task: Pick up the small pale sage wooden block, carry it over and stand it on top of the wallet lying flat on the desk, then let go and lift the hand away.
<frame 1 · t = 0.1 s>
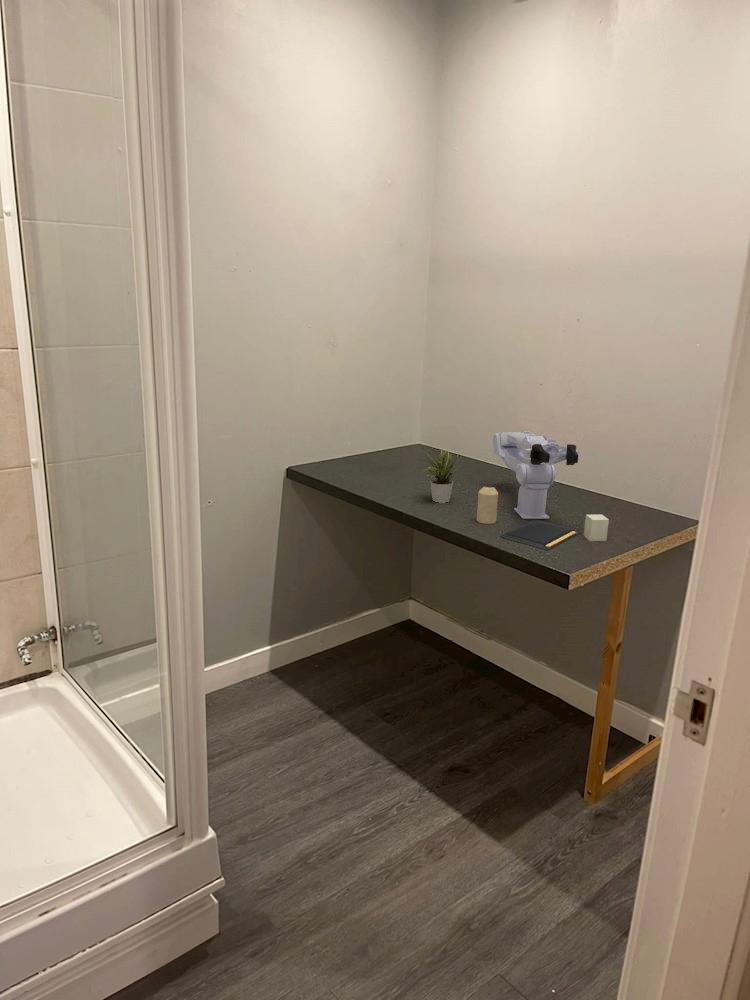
hand: (562, 458, 185), 22 cm above the table, tool horizontal, fingers open, 7 cm apart
candle: (486, 521, 204), on the table
house plant: (438, 500, 223), on the table
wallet: (540, 537, 194), on the table
block: (594, 538, 192), on the table
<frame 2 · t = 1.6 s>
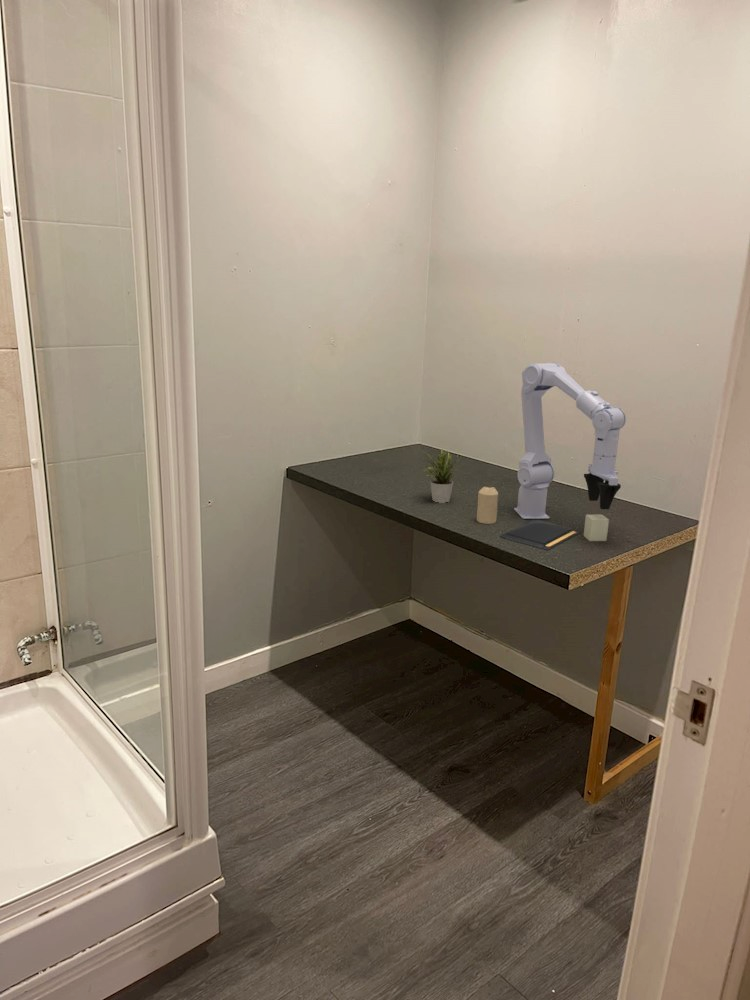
hand: (598, 504, 189), 9 cm above the table, tool pointing down, fingers open, 7 cm apart
nothing on the table moved.
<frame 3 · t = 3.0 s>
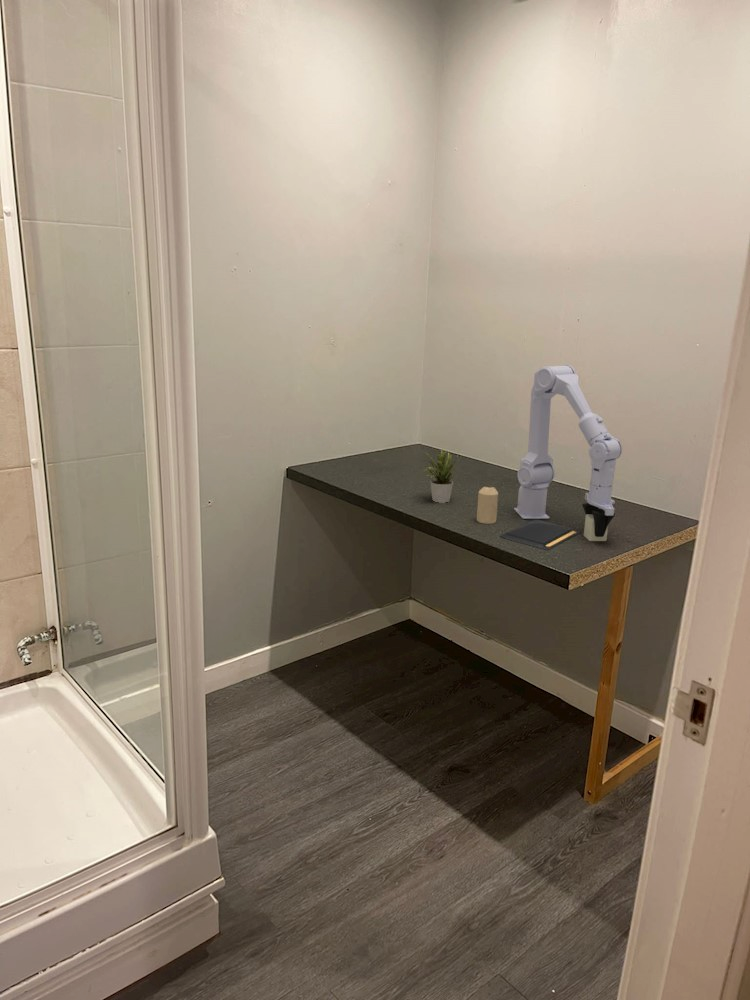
hand: (595, 533, 192), 1 cm above the table, tool pointing down, fingers closed on block, 4 cm apart
block: (594, 538, 192), on the table, touching gripper
everything else where it was.
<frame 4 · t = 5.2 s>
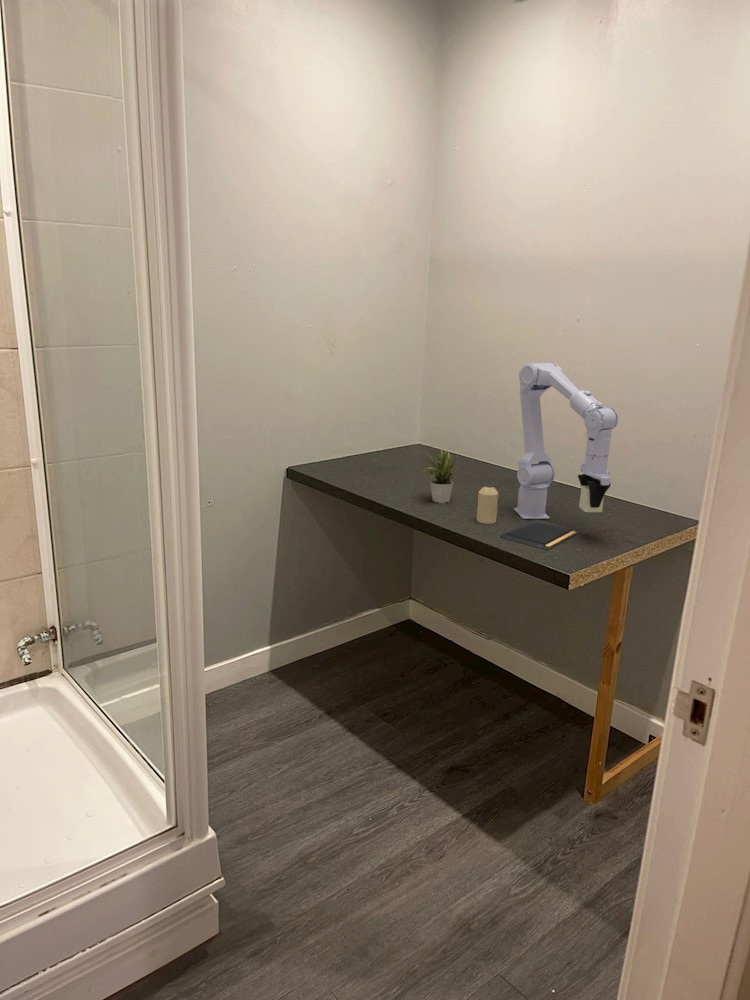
hand: (590, 504, 190), 9 cm above the table, tool pointing down, fingers closed on block, 4 cm apart
block: (590, 509, 190), point 8 cm above the table, touching gripper
everything else where it was.
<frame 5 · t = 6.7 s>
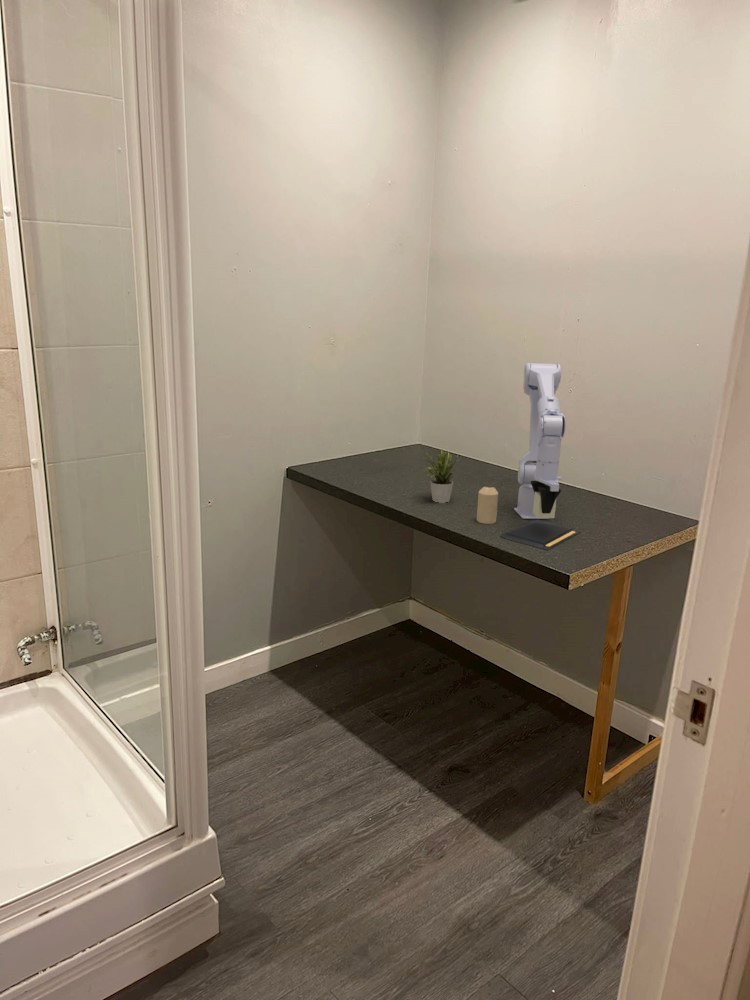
hand: (543, 510, 191), 7 cm above the table, tool pointing down, fingers closed on block, 4 cm apart
block: (543, 515, 192), point 5 cm above the table, touching gripper
everything else where it was.
when the fingers open (5 cm above the table, at t = 7.6 s): block drops 2 cm, resting on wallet.
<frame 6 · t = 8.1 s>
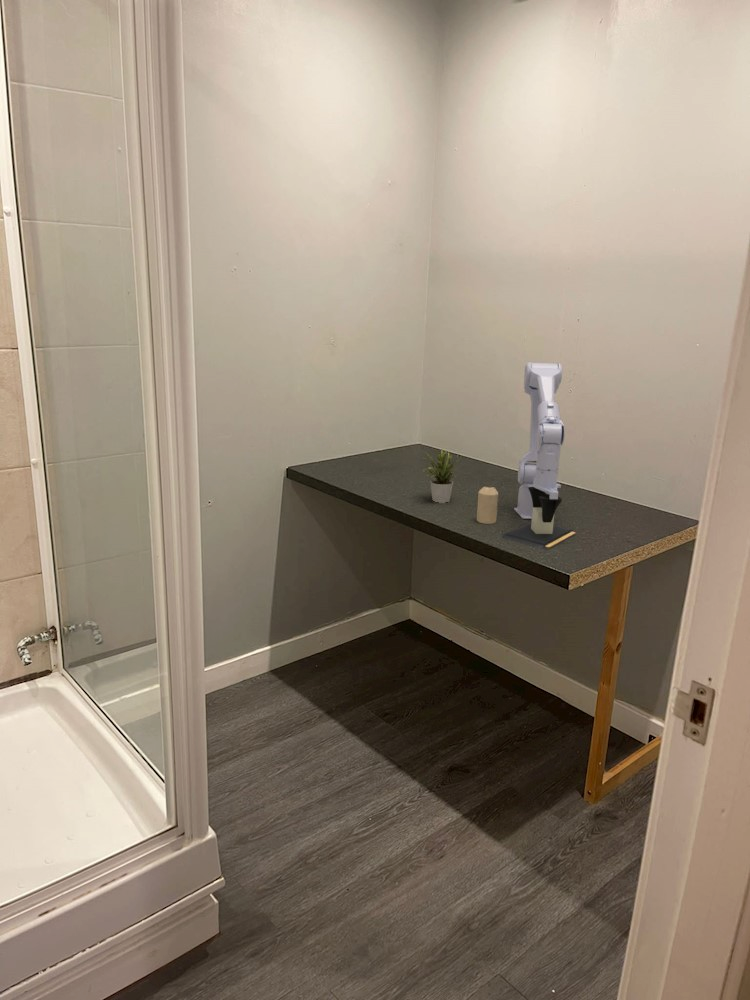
hand: (542, 517, 192), 5 cm above the table, tool pointing down, fingers open, 7 cm apart
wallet: (539, 538, 194), on the table, touching block
block: (541, 531, 193), point 1 cm above the table, touching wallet
everything else where it was.
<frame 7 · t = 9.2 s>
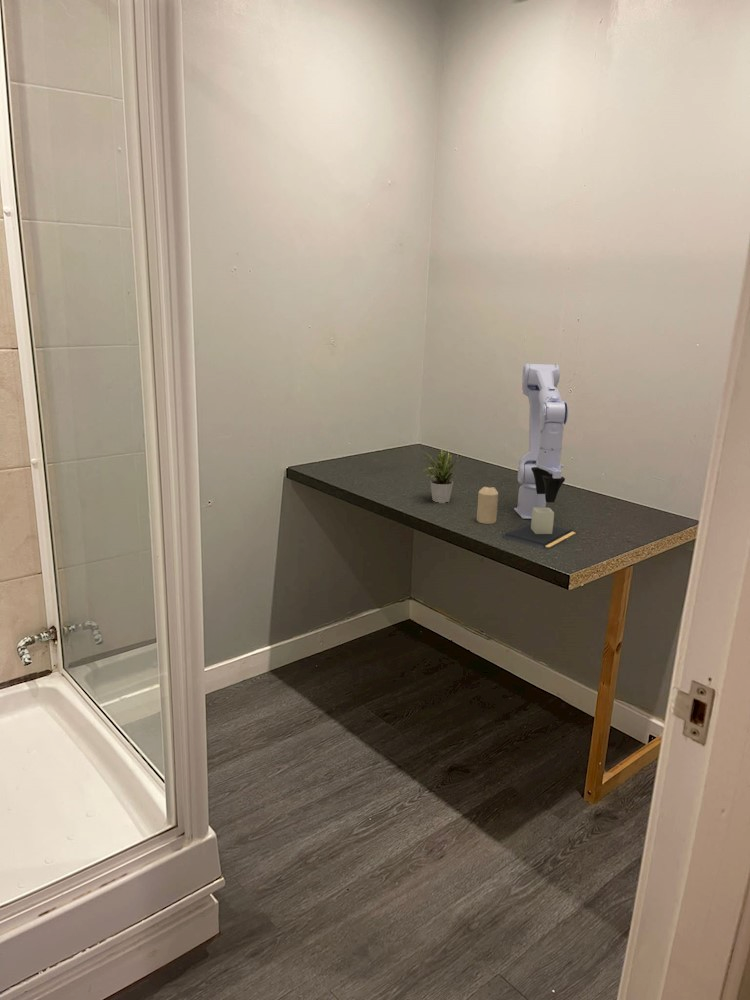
hand: (545, 497, 191), 10 cm above the table, tool pointing down, fingers open, 7 cm apart
nothing on the table moved.
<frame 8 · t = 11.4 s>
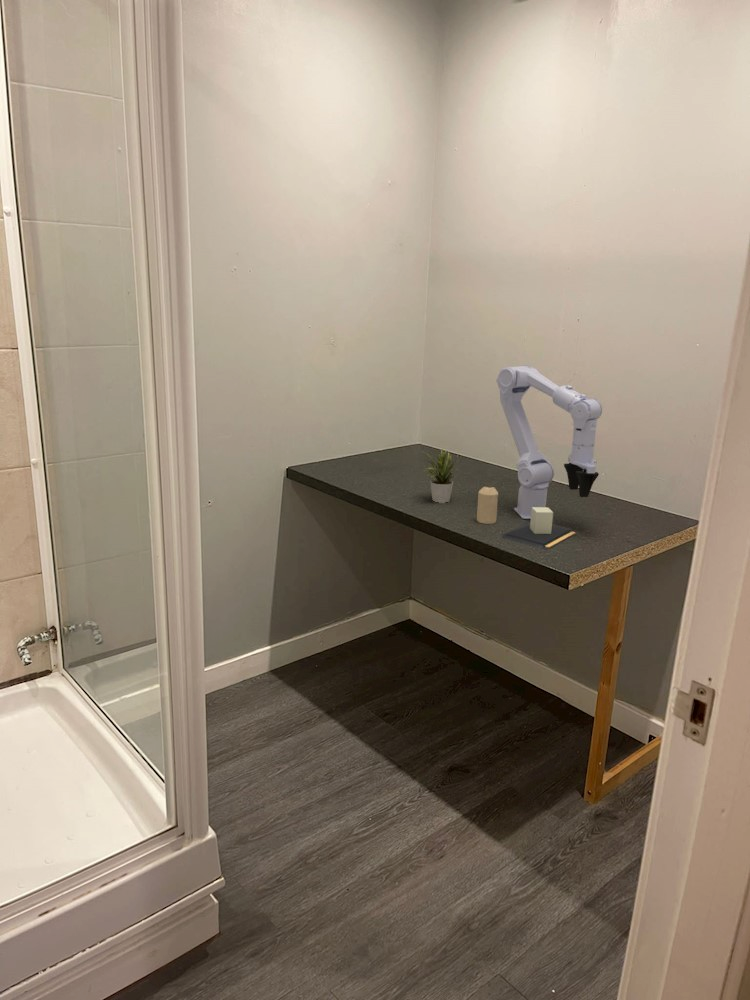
hand: (578, 492, 196), 10 cm above the table, tool pointing down, fingers open, 7 cm apart
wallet: (539, 538, 194), on the table
block: (540, 530, 193), point 1 cm above the table
everything else where it was.
at the end: block inside the target area on the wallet (0.0 cm from its centre), point 2.1 cm above the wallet's base; block tilted 0°; the gripper is holding nothing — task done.
